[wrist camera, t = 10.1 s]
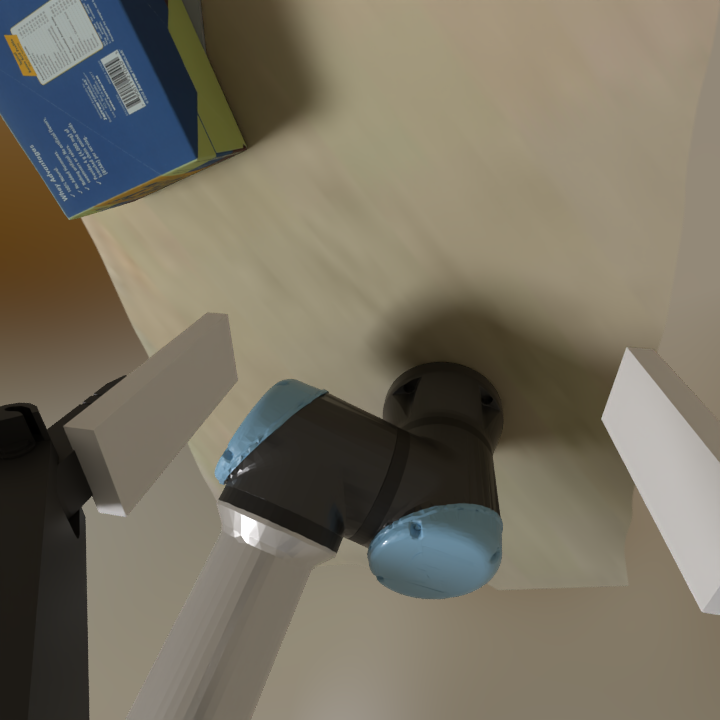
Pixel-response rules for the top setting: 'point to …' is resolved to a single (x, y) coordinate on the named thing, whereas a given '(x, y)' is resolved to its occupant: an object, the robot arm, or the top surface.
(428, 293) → the top surface
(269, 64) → the top surface
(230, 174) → the top surface
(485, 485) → the robot arm
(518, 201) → the top surface
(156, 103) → the protein box
